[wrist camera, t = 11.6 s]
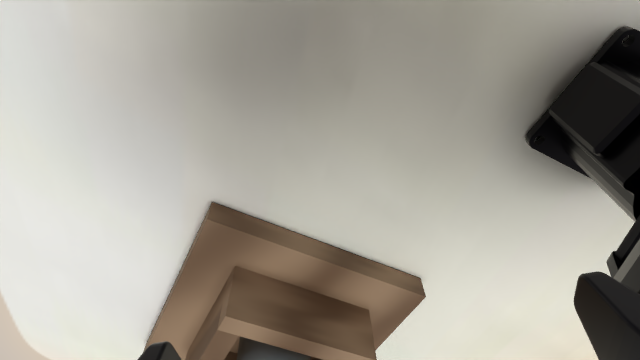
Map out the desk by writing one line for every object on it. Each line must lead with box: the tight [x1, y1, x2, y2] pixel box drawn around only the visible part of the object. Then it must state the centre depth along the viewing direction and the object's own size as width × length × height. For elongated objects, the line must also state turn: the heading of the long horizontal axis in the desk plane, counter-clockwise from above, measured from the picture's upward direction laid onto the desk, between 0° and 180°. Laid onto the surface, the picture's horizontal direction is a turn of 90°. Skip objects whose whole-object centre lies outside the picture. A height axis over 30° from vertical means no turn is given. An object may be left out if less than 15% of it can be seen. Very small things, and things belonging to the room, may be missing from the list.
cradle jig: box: [144, 202, 426, 360], centre depth 27 cm, size 14×14×5 cm
